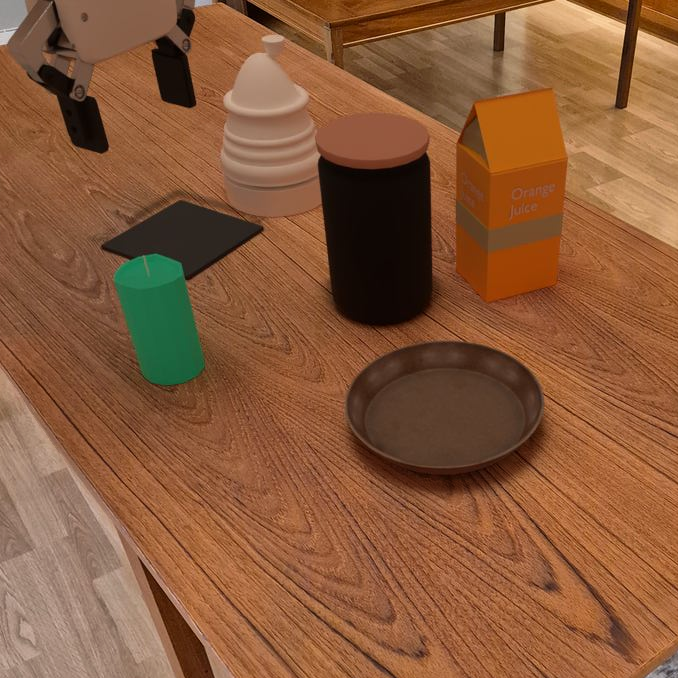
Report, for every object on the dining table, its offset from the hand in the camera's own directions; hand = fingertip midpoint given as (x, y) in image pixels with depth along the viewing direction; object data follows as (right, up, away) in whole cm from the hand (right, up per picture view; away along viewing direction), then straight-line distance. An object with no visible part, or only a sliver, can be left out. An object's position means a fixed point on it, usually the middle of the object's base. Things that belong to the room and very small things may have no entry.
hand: (137, 125), depth 69 cm
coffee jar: (+16, -9, +26) cm, 32 cm away
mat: (-8, 0, +34) cm, 35 cm away
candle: (-3, -17, +17) cm, 24 cm away
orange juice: (+30, -5, +30) cm, 42 cm away
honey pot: (+1, +9, +43) cm, 44 cm away
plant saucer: (+24, -23, +12) cm, 35 cm away
